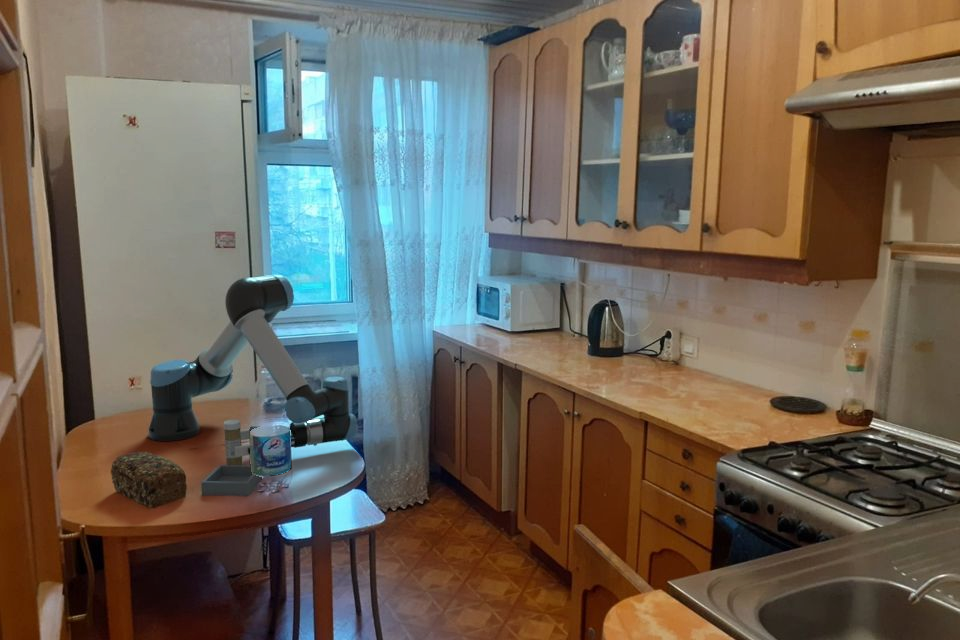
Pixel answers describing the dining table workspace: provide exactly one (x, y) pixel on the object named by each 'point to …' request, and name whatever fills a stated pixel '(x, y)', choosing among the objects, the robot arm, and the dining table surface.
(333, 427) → the robot arm
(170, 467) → the bread
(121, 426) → the dining table surface
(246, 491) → the tray
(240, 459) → the sprinkles bottle
